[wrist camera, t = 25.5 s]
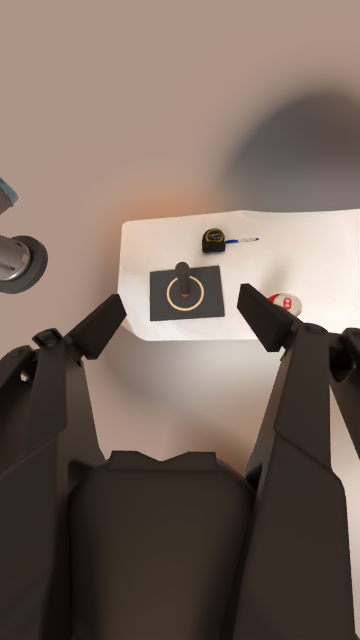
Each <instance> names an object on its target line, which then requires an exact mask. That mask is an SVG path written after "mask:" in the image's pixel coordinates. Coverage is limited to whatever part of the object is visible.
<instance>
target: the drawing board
mask: <svg viewBox="0 0 360 640" xmlns="http://www.w3.org/2000/svg"><path fill="white" fill-rule="evenodd" d="M189 283H190V292H189V295H188V296H186V297H184V296H182V295H181V292H180V288H179V284H178V279H177V274H176V270H169V271H158V272H150V321H162V320H178V319H193V318H209V317H224V316H225V313H224V305H223V296H222V287H221V279H220V270H219V266H211V267H201V268H190V269H189Z"/></svg>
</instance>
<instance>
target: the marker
mask: <svg viewBox="0 0 360 640" xmlns="http://www.w3.org/2000/svg"><path fill="white" fill-rule="evenodd" d="M175 270H176V274H177V279H178V284H179V288H180V292H181V295H182V296H184V297H186V296H188V295H189V292H190V283H189V266H188V264H187V263H185V262H180V263H178V264H177V265H176V267H175Z"/></svg>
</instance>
